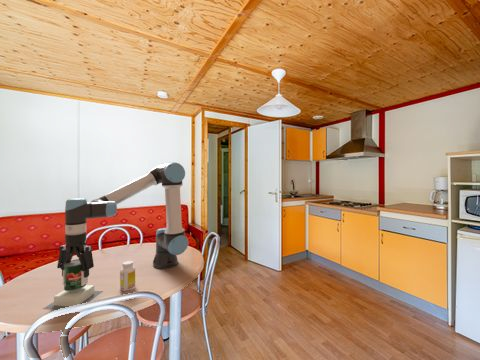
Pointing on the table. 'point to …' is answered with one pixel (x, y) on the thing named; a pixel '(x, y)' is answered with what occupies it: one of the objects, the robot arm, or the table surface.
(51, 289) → the table surface
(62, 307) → the grey flat square
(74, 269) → the canned tomato
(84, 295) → the cream base block
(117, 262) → the table surface
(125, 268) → the supplement bottle
